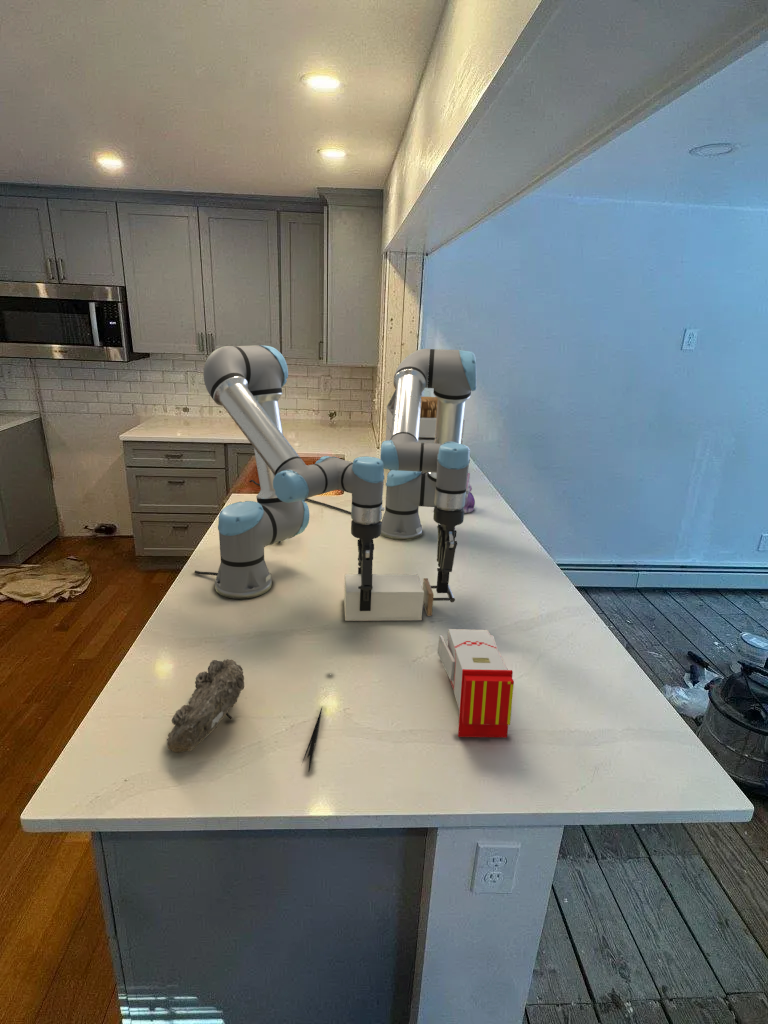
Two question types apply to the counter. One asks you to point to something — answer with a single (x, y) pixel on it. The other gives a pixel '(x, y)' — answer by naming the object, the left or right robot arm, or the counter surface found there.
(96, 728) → the counter surface
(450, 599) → the drawer
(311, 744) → the feather
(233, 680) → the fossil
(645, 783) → the counter surface
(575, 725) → the counter surface
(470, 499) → the figurine
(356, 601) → the cabinet
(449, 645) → the toy
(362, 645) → the counter surface
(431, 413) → the transformer
